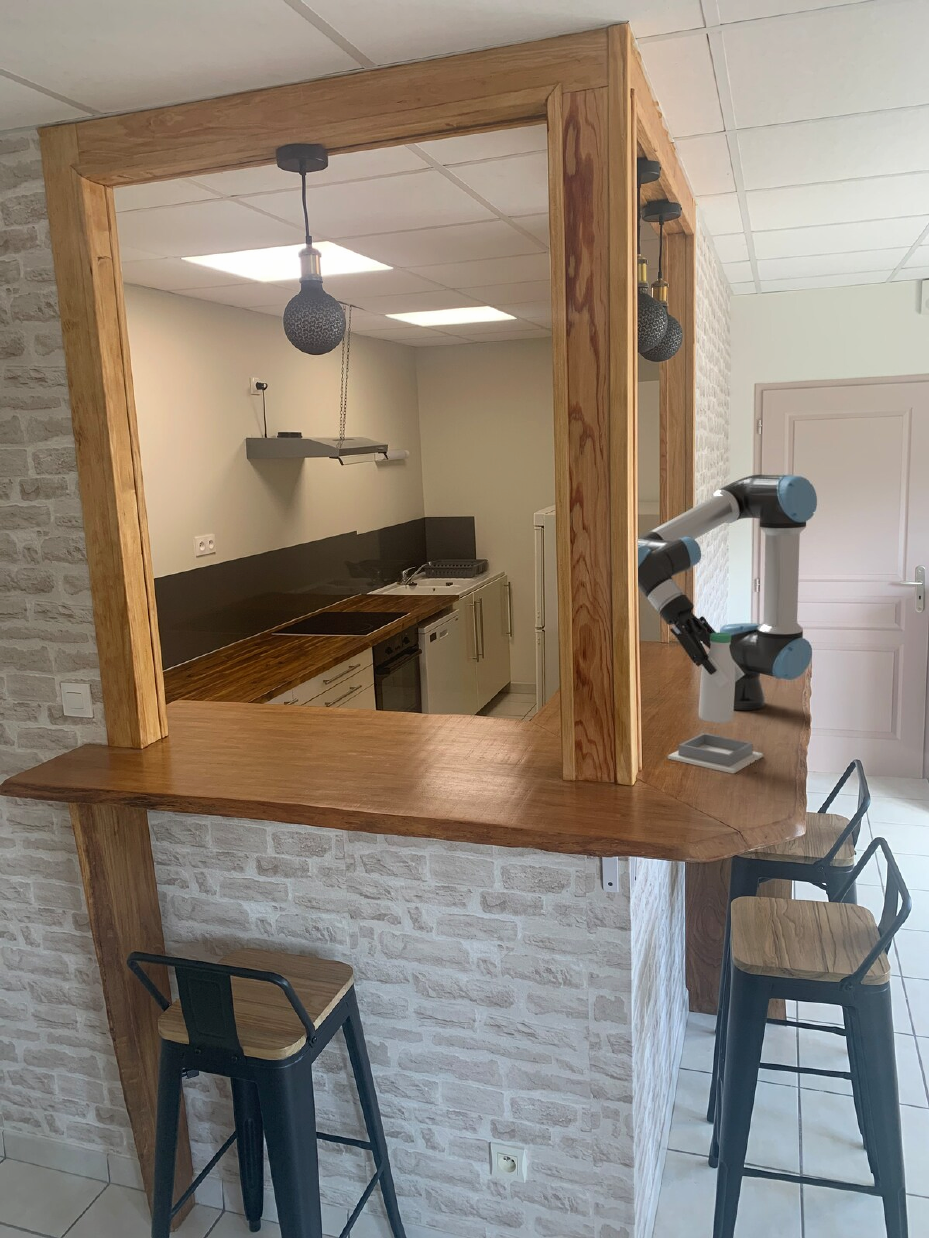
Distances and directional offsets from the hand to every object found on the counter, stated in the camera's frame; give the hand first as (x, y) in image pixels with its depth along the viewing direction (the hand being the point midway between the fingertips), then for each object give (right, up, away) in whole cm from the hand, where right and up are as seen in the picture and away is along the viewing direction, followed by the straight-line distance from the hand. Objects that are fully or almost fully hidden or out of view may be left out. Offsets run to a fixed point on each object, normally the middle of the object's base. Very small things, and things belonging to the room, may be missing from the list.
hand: (732, 680), depth 211 cm
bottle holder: (-2, -18, +6) cm, 19 cm away
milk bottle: (-3, -9, +4) cm, 10 cm away
